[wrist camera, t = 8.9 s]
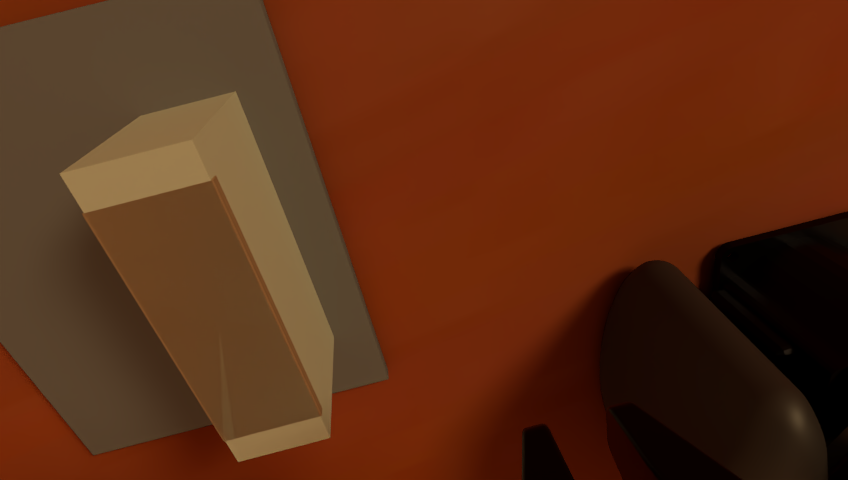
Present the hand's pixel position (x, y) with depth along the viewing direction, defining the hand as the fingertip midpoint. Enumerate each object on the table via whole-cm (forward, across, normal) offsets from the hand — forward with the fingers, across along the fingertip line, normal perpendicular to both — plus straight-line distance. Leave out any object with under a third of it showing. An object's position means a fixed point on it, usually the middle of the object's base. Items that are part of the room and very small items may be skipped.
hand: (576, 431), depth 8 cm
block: (+11, +8, 0) cm, 13 cm away
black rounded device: (+12, -9, +13) cm, 19 cm away
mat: (+12, +11, 0) cm, 16 cm away
